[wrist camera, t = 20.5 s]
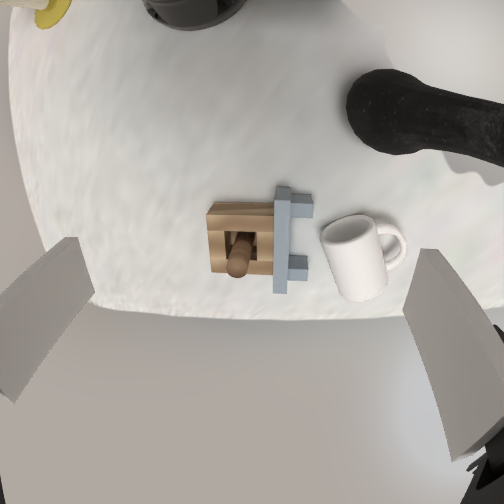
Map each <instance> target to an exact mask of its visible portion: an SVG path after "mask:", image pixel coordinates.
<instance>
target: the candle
mask: <svg viewBox="0 0 504 504" xmlns="http://www.w3.org/2000/svg"><path fill="white" fill-rule="evenodd" d="M71 1H72V0H0V5H1V6H13V7H22V8H30V9H36V12H35V23H36V25H37V27H39V28H40V29H48V28H50V27H52V26H53V25H55V24H57V22H58V21H59V20H60V19H61V18H62V17H63V16H64V15H65V13H66V11H67V10H68V8H69V6H70V3H71Z"/></svg>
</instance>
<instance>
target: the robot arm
mask: <svg viewBox="0 0 504 504" xmlns="http://www.w3.org/2000/svg"><path fill="white" fill-rule="evenodd" d="M142 1H143V3H144V6H145V8H146V10H147V12H148V13H149V14H150V15H151V16H152V17H153V18H154V19H155V20H157V21H158V22H160V23H162V24H164V25H165V26H168V27H170V28H173V29H177V30H185V31H191V30H200V29H205V28H209V27H212V26H214V25H217V24H219V23H221V22H223V21H225V20H227V19H228V18H230V17H231V16H232V15H234V14H235V13H236V12H237V11H238V10H239V9H240V8H241V7H242V6H243V5H244V3H245V2H246V0H142ZM94 293H95V291H94V288H93V285H92V282H91V279H90V276H89V273H88V270H87V267H86V264H85V261H84V257H83V254H82V251H81V247H80V244H79V240H78V237H65V238H64V239H62V240H61V241H60V242H59V243H57V244H56V245H55V246H54V247H53V248H51V249H50V250H49V251H48V252H47V253H45V254H44V255H43V256H42V257H41V258H40V259H38V260H37V261H36V262H35V263H34V264H33V265H32V266H30V267H29V268H28V269H27V270H26V271H25V272H24V273H23V274H22V275H20V277H18V278H17V279H16V280H15V281H14V282H13V283H12V284H11V285H10V286H9V287H8V288H7V289H6V290H5V291H4V292H3V293H2V294H1V295H0V395H1V396H2V397H3V398H5V399H7V400H8V401H9V402H11V403H13V404H15V402H16V400H17V399H18V397H19V396H20V394H21V393H22V391H23V389H24V388H25V386H26V385H27V383H28V382H29V380H30V379H31V377H32V376H33V374H34V373H35V371H36V370H37V368H38V367H39V365H40V364H41V363H42V361H43V360H44V358H45V357H46V355H47V354H48V353H49V351H50V350H51V349H52V347H53V346H54V344H55V343H56V342H57V340H58V339H59V337H60V336H61V335H62V334H63V332H64V331H65V329H66V328H67V327H68V326H69V324H70V323H71V322H72V320H73V319H74V318H75V317H76V315H77V314H78V313H79V312H80V310H81V309H82V308H83V306H84V305H85V304H86V303H87V302H88V300H89V299H90V298H91V297H92V295H93V294H94ZM403 312H404V315H405V317H406V320H407V322H408V324H409V326H410V329H411V332H412V334H413V337H414V339H415V342H416V345H417V347H418V350H419V352H420V355H421V358H422V361H423V363H424V366H425V369H426V372H427V375H428V377H429V380H430V384H431V387H432V390H433V393H434V396H435V399H436V402H437V406H438V409H439V413H440V416H441V419H442V423H443V427H444V431H445V435H446V438H447V442H448V447H449V451H450V455H451V460H452V462H454V461H457V460H460V459H463V458H466V457H469V456H472V455H473V454H475V453H476V452H477V451H478V450H480V449H481V448H482V447H483V446H484V445H485V448H486V453H485V454H484V455H482V456H481V457H480V458H479V459H477V460H476V461H474V462H473V463H472V464H471V465H469V467H468V468H467V470H466V471H468V472H469V471H470V470H472V469H473V468H474V467H476V466H477V465H478V467H477V469H476V470H475V471H474V472H473V474H474V476H473V478H472V481H471V483H470V485H469V487H468V489H467V492H466V493H465V496H464V497H463V499H462V501H461V503H460V504H504V332H503V331H502V330H501V329H500V328H499V327H498V326H497V325H492V323H491V322H490V320H489V319H488V317H487V315H486V314H485V312H484V311H483V309H482V308H481V306H480V305H479V303H478V302H477V300H476V299H475V298H474V296H473V295H472V293H471V292H470V291H469V289H468V288H467V286H466V285H465V284H464V282H463V281H462V280H461V278H460V277H459V275H458V274H457V273H456V272H455V270H454V269H453V268H452V266H451V265H450V264H449V262H448V261H447V260H446V259H445V257H444V256H443V255H442V254H441V252H440V251H439V250H438V249H421V250H420V253H419V257H418V261H417V265H416V268H415V272H414V275H413V279H412V282H411V285H410V288H409V292H408V295H407V298H406V301H405V304H404V307H403ZM0 504H6V503H5V499H4V494H3V489H2V484H1V478H0Z"/></svg>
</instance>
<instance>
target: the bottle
mask: <svg viewBox="0 0 504 504" xmlns="http://www.w3.org/2000/svg"><path fill="white" fill-rule="evenodd" d="M346 110H347V115H348V120H349V123H350V125H351V127H352V129H353V131H354V133H355V134H356V135H357V136H358V137H359V138H360V139H361V140H362V141H363V143H365V144H366V145H368V146H370V147H371V148H373V149H375V150H377V151H379V152H383V153H387V154H392V155H402V154H411V153H415V152H417V151H419V150H422V149H434V150H442V151H449V152H454V153H459V154H464V155H469V156H472V157H475V158H478V159H481V160H484V161H487V162H490V163H493V164H496V165H498V166H501V167H504V104H501V103H497V102H493V101H488V100H484V99H479V98H474V97H469V96H466V95H462V94H458V93H454V92H450V91H446V90H443V89H439V88H435V87H431V86H428V85H426V84H424V83H422V82H421V81H419V80H418V79H417V78H415V77H414V76H412V75H410V74H407V73H404V72H401V71H398V70H395V69H378V70H373V71H371V72H368V73H366V74H364V75H362V76H361V77H360V78H359V79H358V80H357V81H356V82H354V83H353V85H352V88H351V90H350V92H349V94H348V97H347V105H346Z"/></svg>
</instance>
